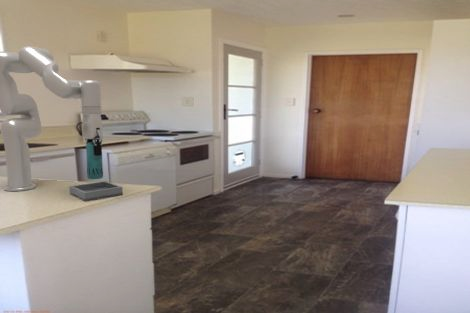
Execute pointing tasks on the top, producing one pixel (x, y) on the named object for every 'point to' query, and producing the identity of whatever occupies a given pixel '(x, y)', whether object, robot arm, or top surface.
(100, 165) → the beverage bottle
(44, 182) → the top surface
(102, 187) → the tray
